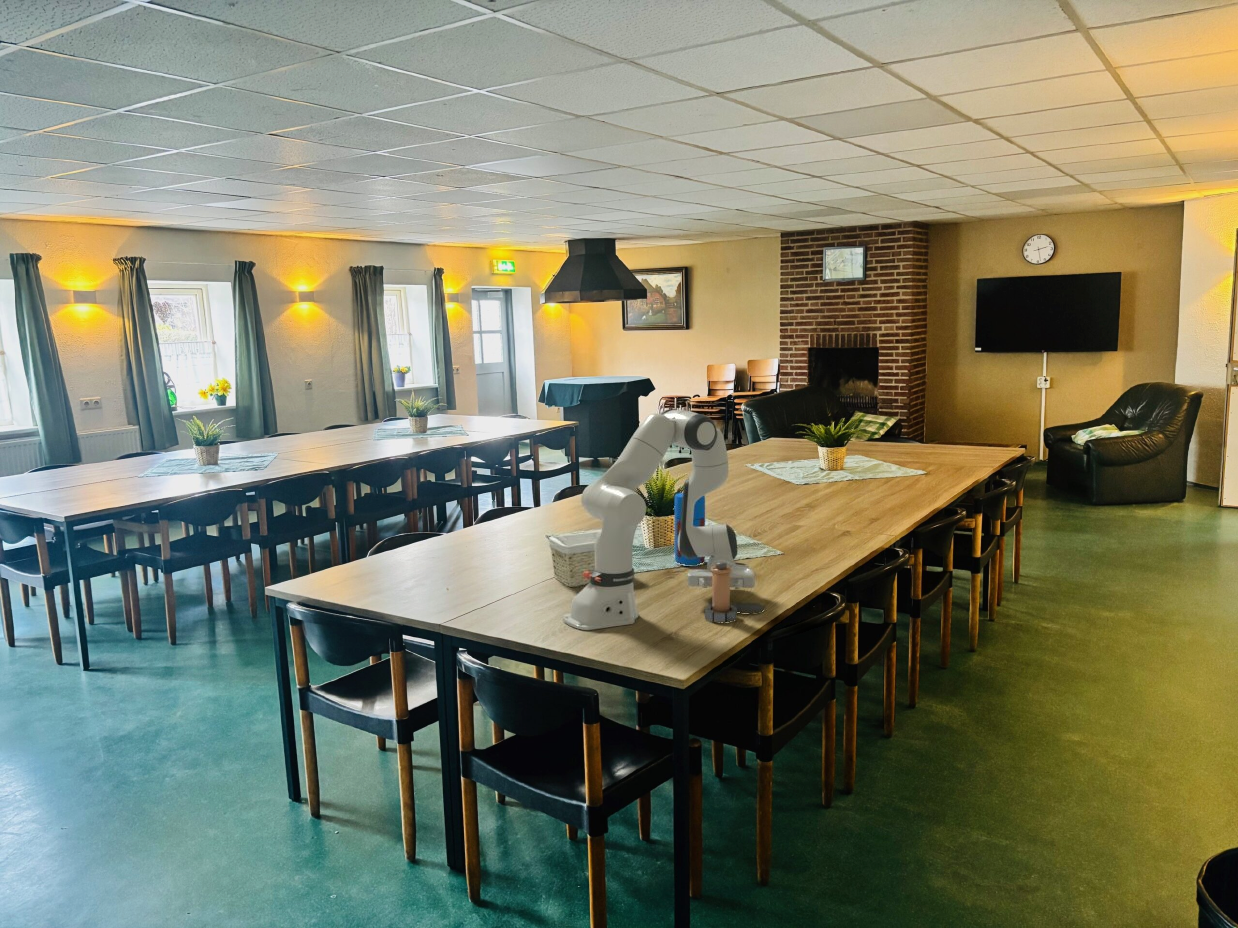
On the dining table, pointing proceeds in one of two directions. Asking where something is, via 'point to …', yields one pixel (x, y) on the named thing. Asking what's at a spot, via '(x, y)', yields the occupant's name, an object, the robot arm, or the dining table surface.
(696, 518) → the thermos
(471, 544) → the dining table surface
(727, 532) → the robot arm
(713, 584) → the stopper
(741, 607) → the rest pad
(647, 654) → the dining table surface
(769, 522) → the dining table surface
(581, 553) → the storage basket
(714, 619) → the collar
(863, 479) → the dining table surface
